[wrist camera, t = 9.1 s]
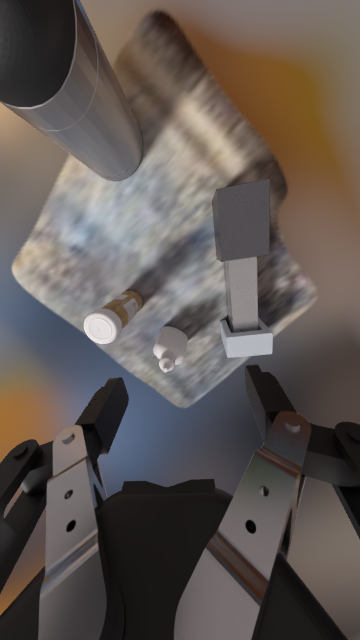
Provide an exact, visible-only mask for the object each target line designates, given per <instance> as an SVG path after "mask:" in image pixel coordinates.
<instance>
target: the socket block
mask: <svg viewBox="0 0 360 640" xmlns="http://www.w3.org/2000/svg"><path fill="white" fill-rule="evenodd" d="M220 322H221V333H222V340H223V343H224V347H225V350H226V354H227V357H228V358H232V357H243V356H254V355H264V354H272V336H273V333H272V332H271V331H270V329H269V328H268V327H267V326H266V325H265V324H264V323H263V322H262V321H261V319H260V318H259V317H258V330H257V331H248V332H238V333H231V332H230V329H229V327H228V325H227V322H226V320H222V321H220Z"/></svg>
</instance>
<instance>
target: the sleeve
mask: <svg viewBox="0 0 360 640" xmlns="http://www.w3.org/2000/svg"><path fill="white" fill-rule="evenodd" d="M212 207H213V219H214V231H215V243H216V255H217V259H218V260H220V261H221V262H224V261H230V260H237V259H244V258H250V257H257V256H263V255H269V226H270V179H265V180H260V181H255V182H250V183H245V184H240V185H235V186H230V187H225V188H220V189H216V192H215V194H214V197H213V200H212Z"/></svg>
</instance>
